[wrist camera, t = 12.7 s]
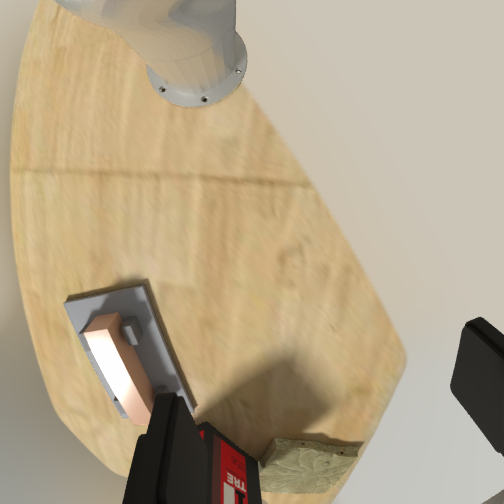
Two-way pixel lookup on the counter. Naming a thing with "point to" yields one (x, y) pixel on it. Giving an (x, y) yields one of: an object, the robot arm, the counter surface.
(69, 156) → the counter surface
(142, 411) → the clay strip
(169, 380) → the grey plate with pegs
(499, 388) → the robot arm
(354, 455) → the decorative tile
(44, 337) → the counter surface
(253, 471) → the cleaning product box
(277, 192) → the counter surface
